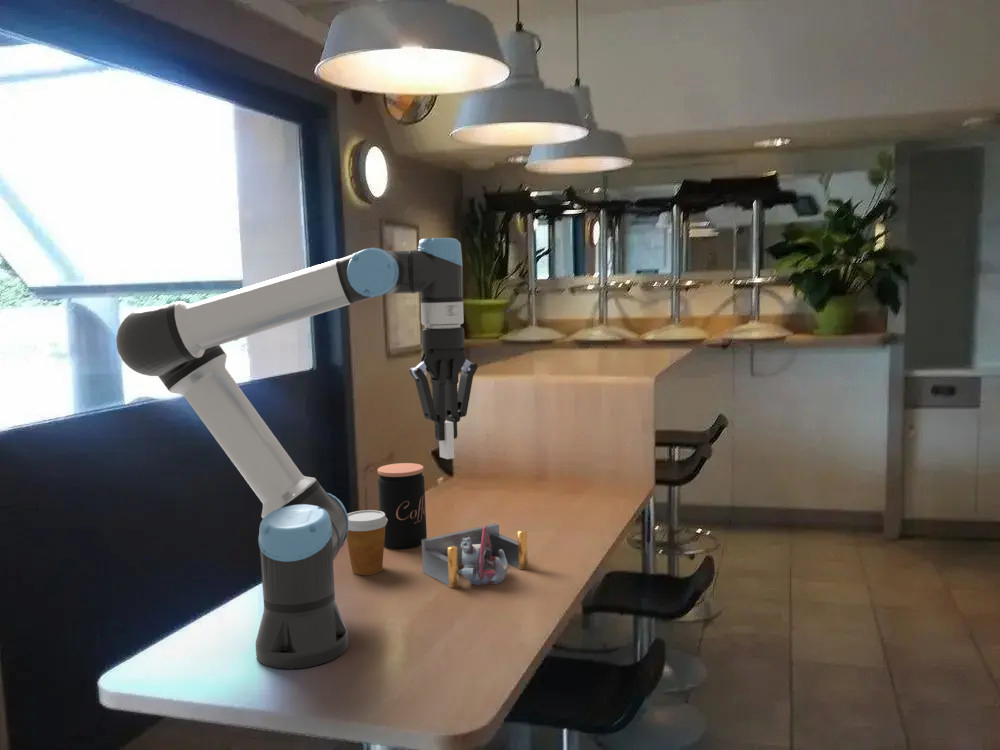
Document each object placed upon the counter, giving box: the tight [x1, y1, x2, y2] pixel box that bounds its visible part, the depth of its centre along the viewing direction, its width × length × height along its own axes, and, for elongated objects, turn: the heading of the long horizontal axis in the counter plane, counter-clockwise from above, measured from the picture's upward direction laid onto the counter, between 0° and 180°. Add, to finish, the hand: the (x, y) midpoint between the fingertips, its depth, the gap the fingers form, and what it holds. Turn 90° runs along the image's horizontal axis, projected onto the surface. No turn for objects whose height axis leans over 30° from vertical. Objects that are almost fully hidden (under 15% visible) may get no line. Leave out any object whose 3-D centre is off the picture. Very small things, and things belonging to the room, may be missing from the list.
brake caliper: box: [458, 525, 510, 586], centre depth 179 cm, size 11×11×12 cm
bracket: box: [421, 523, 529, 589], centre depth 183 cm, size 19×12×8 cm, turn 124°
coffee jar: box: [376, 462, 428, 551], centre depth 203 cm, size 11×11×18 cm
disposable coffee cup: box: [346, 509, 388, 576], centre depth 186 cm, size 10×10×12 cm
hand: (447, 457), depth 157 cm, fingers closed
